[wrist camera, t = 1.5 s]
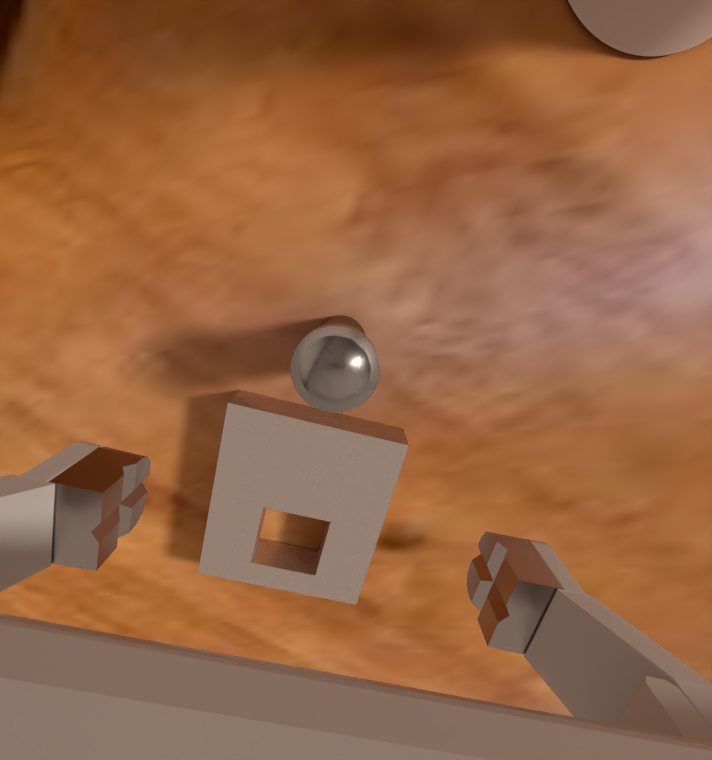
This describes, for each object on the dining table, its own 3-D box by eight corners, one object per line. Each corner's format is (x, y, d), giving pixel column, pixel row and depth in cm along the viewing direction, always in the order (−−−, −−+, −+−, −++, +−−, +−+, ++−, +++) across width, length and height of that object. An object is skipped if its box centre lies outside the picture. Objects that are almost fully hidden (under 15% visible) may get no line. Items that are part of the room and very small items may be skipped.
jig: (239, 390, 31) (227, 402, 28) (403, 429, 32) (408, 445, 29) (210, 548, 35) (197, 572, 32) (355, 578, 36) (356, 604, 33)
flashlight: (316, 301, 29) (301, 315, 20) (379, 318, 29) (390, 339, 21) (302, 363, 30) (282, 401, 22) (362, 378, 31) (366, 421, 22)
